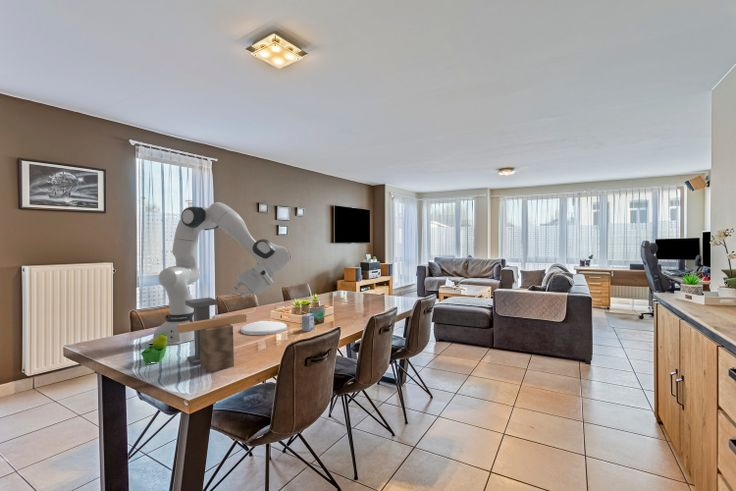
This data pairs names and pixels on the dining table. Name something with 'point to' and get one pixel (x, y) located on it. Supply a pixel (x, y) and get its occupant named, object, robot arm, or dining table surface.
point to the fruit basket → (155, 350)
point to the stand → (199, 314)
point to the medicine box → (308, 322)
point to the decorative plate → (263, 328)
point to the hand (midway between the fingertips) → (237, 293)
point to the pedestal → (216, 348)
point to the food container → (318, 314)
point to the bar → (210, 323)
